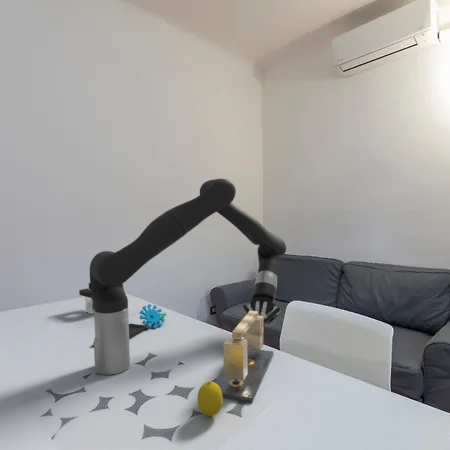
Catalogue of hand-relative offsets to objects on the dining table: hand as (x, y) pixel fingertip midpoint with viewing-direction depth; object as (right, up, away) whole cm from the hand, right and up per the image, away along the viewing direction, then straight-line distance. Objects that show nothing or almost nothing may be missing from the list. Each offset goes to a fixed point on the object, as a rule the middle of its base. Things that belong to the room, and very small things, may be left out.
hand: (257, 334), depth 115 cm
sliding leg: (-4, -4, -12) cm, 14 cm away
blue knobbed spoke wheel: (-37, -4, +24) cm, 44 cm away
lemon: (-13, -8, -35) cm, 38 cm away
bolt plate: (-5, -6, -15) cm, 17 cm away
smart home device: (-46, -5, +13) cm, 48 cm away
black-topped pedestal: (-64, -3, +40) cm, 75 cm away
